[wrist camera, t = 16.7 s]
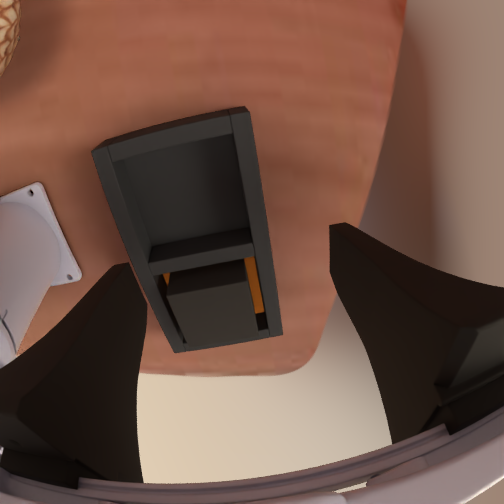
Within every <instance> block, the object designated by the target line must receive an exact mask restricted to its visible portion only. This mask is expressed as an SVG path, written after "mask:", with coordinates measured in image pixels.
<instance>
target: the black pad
mask: <svg viewBox="0 0 504 504" xmlns="http://www.w3.org/2000/svg"><path fill="white" fill-rule="evenodd" d="M167 299H168V301H169V303H170V306H171V308H172V310H173V313H174V315H175V317H176V320H177V322H178V324H179V326H180V329H181V331H182V333H183V335H184V338H185V340H186V342H187V344H188V346H189V348H192V347H199V346H205V345H211V344H218V343H224V342H230V341H235V340H241V339H246V338H252V337H257V336H259V332H258V326H257V321H256V315H255V309H254V304H253V299H252V295H251V290H250V285H249V280H248V275H247V271H246V266H245V261H244V258H243V259H238V260H232V261H227V262H222V263H217V264H212V265H206V266H201V267H196V268H191V269H186V270H180V271H175V272H170V276H169V282H168V289H167Z"/></svg>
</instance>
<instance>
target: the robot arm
mask: <svg viewBox="0 0 504 504" xmlns="http://www.w3.org/2000/svg"><path fill="white" fill-rule="evenodd" d="M30 189H31V190H32V191H33V193H34V194H32V193H31V192H30ZM329 234H330V274H331V277H332V280H333V282H334V285H335V288H336V290H337V293H338V295H339V297H340V299H341V301H342V303H343V305H344V307H345V309H346V311H347V313H348V315H349V317H350V319H351V321H352V323H353V324H354V326H355V328H356V330H357V332H358V334H359V336H360V338H361V340H362V342H363V344H364V346H365V349H366V352H367V354H368V357H369V360H370V363H371V366H372V369H373V372H374V375H375V378H376V381H377V384H378V388H379V391H380V394H381V398H382V402H383V405H384V409H385V413H386V417H387V420H388V426H389V430H390V435H391V439H392V445H389V446H387V447H384V448H381V449H378V450H375V451H372V452H369V453H365V454H363V455H359V456H356V457H353V458H349V459H345V460H342V461H338V462H334V463H330V464H326V465H322V466H318V467H313V468H309V469H305V470H299V471H295V472H289V473H284V474H278V475H272V476H265V477H258V478H251V479H243V480H233V481H222V482H208V483H186V484H152V483H144V482H143V477H142V471H141V465H140V457H139V447H138V437H137V412H136V411H137V383H138V375H139V369H140V362H141V356H142V351H143V345H144V339H145V333H146V325H147V303H146V301H145V298H144V296H143V294H142V292H141V289H140V287H139V285H138V283H137V280H136V278H135V276H134V273H133V271H132V269H131V266H130V264H129V262H127V263H122V264H117V265H114V266H112V267H111V268H110V269H109V270H108V271H107V272H106V273H105V274H104V275H103V276H102V277H101V278H100V279H99V280H98V282H97V283H96V284H95V285H94V286H93V287H92V288H91V289H90V290H89V291H88V292H87V294H86V295H85V296H84V297H83V298H82V299H81V300H80V301H79V302H78V303H77V304H76V305H75V306H74V307H73V309H72V310H71V311H70V312H69V313H68V314H67V315H66V316H65V317H64V318H63V319H62V320H61V321H60V322H59V323H58V324H57V325H56V326H55V327H54V328H53V329H51V330H50V331H49V332H48V333H47V334H46V335H45V336H44V337H43V338H41V339H40V340H39V341H38V342H36V343H35V344H34V345H33V346H31V347H30V348H29V349H28V350H26V351H25V352H24V353H22V354H21V355H20V356H18V357H17V358H16V353H17V351H18V349H19V347H20V344H21V342H22V340H23V338H24V336H25V334H26V331H27V329H28V327H29V325H30V323H31V321H32V319H33V317H34V315H35V313H36V311H37V309H38V307H39V305H40V303H41V301H42V300H43V298H44V296H45V294H46V292H47V290H48V288H49V287H50V286H55V285H60V284H65V283H70V282H75V281H79V280H80V279H81V277H82V273H81V271H80V269H79V267H78V265H77V263H76V261H75V258H74V256H73V254H72V252H71V250H70V248H69V246H68V244H67V242H66V240H65V237H64V235H63V233H62V231H61V228H60V226H59V224H58V222H57V219H56V217H55V215H54V212H53V210H52V207H51V205H50V202H49V200H48V197H47V195H46V192H45V190H44V187H43V185H42V184H41V183H39V182H35V183H33V184H30V185H28V186H25V187H23V188H20V189H18V190H16V191H13V192H11V193H9V194H7V195H4V196H2V197H0V504H464V503H466V502H468V501H469V500H471V499H473V498H474V497H476V496H477V495H479V494H481V493H482V492H484V491H485V490H487V489H488V488H490V487H491V486H493V485H494V484H496V483H497V482H499V481H500V480H502V479H503V478H504V288H503V287H497V286H492V285H487V284H483V283H479V282H475V281H471V280H467V279H464V278H460V277H457V276H455V275H452V274H448V273H445V272H443V271H440V270H437V269H435V268H432V267H430V266H428V265H425V264H423V263H420V262H418V261H416V260H414V259H412V258H410V257H408V256H406V255H404V254H402V253H400V252H398V251H396V250H394V249H392V248H390V247H389V246H387V245H385V244H383V243H381V242H380V241H378V240H376V239H375V238H373V237H371V236H369V235H368V234H366V233H364V232H363V231H361V230H359V229H357V228H356V227H354V226H352V225H350V224H348V223H346V222H345V223H339V224H333V225H329ZM68 274H70V275H71V276H72V277H71V276H69V275H68ZM363 482H367V483H366V486H367V487H364V488H359V489H355V490H351V491H347V492H342V493H336V492H334V491H336V490H339V489H343V488H346V487H350V486H353V485H357V484H360V483H363Z"/></svg>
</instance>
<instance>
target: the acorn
mask: <svg viewBox="0 0 504 504" xmlns="http://www.w3.org/2000/svg"><path fill="white" fill-rule="evenodd" d="M20 18H21V8H20V0H0V78H1V76H2V74H3V72H4V70H5V68H6V67H7V65H8V64H9V62H10V61H11V59H12V57H13V52H14V49H15V47H16V45H17V41H19V40H20V36H19V37H18V33H19V30H20Z"/></svg>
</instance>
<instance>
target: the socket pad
mask: <svg viewBox="0 0 504 504" xmlns="http://www.w3.org/2000/svg"><path fill="white" fill-rule="evenodd" d="M91 153H92V156H93V160H94V163H95V166H96V169H97V172H98V175H99V178H100V181H101V184H102V187H103V190H104V192H105V195H106V198H107V201H108V204H109V206H110V209H111V212H112V215H113V217H114V220H115V222H116V225H117V228H118V230H119V233H120V235H121V238H122V240H123V243H124V245H125V248H126V250H127V253H128V255H129V257H130V260H131V262H132V265H133V267H134V269H135V272H136V274H137V276H138V278H139V281H140V283H141V285H142V287H143V290H144V292H145V294H146V296H147V298H148V300H149V303H150V305H151V307H152V309H153V311H154V313H155V315H156V317H157V319H158V321H159V324H160V326H161V328H162V330H163V332H164V334H165V336H166V338H167V340H168V342H169V343H170V345H171V347H172V349H173V351H174V353H180V352H186V351H194V350H200V349H207V348H213V347H219V346H226V345H231V344H237V343H243V342H248V341H254V340H259V339H264V338H269V337H275V336H280V335H283V330H282V322H281V315H280V308H279V300H278V293H277V286H276V279H275V272H274V265H273V258H272V251H271V244H270V237H269V231H268V224H267V217H266V211H265V204H264V197H263V191H262V185H261V178H260V172H259V165H258V159H257V153H256V147H255V140H254V134H253V128H252V122H251V116H250V112H249V111H248V109H247V108H246V107H245V106H242V107H237V108H231V109H226V110H220V111H215V112H210V113H205V114H201V115H196V116H192V117H187V118H183V119H179V120H175V121H171V122H167V123H163V124H159V125H155V126H151V127H148V128H144V129H140V130H137V131H134V132H130V133H127V134H123V135H120V136H117V137H114V138H111V139H108V140H105V141H104V142H102V143H101V144H100V145H98V146H97V147H96V148H94V149H93V150H92V151H91ZM243 258H244V261H245V266H246V271H247V275H248V280H249V285H250V290H251V295H252V299H253V304H254V309H255V315H256V321H257V326H258V332H259V336H257V337H252V338H246V339H241V340H235V341H230V342H224V343H218V344H211V345H205V346H199V347H192V348H189V346H188V344H187V342H186V340H185V338H184V335H183V333H182V331H181V329H180V326H179V324H178V322H177V320H176V317H175V315H174V313H173V310H172V308H171V306H170V303H169V301H168V299H167V289H168V282H169V276H170V272H175V271H180V270H186V269H191V268H196V267H201V266H206V265H212V264H217V263H222V262H227V261H232V260H238V259H243Z"/></svg>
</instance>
